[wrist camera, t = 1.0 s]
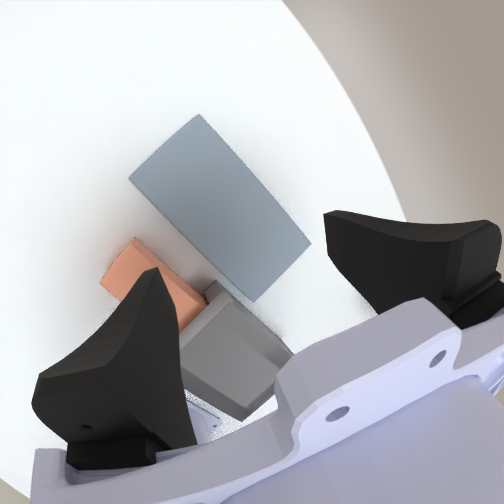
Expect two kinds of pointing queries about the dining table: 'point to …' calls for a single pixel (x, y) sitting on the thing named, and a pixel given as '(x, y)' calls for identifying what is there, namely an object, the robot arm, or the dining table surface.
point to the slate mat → (221, 207)
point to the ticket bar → (182, 294)
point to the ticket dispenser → (230, 356)
